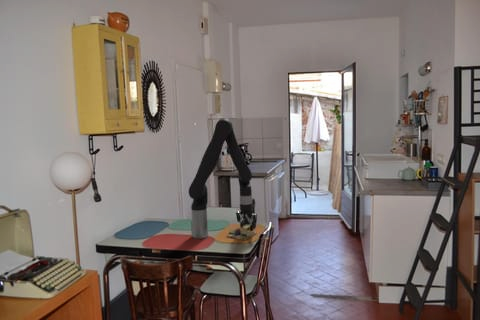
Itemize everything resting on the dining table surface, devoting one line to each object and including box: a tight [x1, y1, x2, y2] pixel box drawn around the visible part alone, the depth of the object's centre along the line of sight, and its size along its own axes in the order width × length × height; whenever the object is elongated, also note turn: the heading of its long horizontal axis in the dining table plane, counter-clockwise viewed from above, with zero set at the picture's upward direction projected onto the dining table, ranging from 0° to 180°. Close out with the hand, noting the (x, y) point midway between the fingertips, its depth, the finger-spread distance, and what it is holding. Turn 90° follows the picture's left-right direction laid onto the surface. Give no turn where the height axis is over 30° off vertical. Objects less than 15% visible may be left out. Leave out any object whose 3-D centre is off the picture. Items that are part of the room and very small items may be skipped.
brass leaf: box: [239, 224, 254, 236], centre depth 240 cm, size 4×7×5 cm, turn 145°
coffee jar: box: [243, 198, 257, 228], centre depth 260 cm, size 10×8×19 cm
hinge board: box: [226, 228, 257, 241], centre depth 243 cm, size 13×13×4 cm
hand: (247, 229), depth 240 cm, fingers open, 6 cm apart
